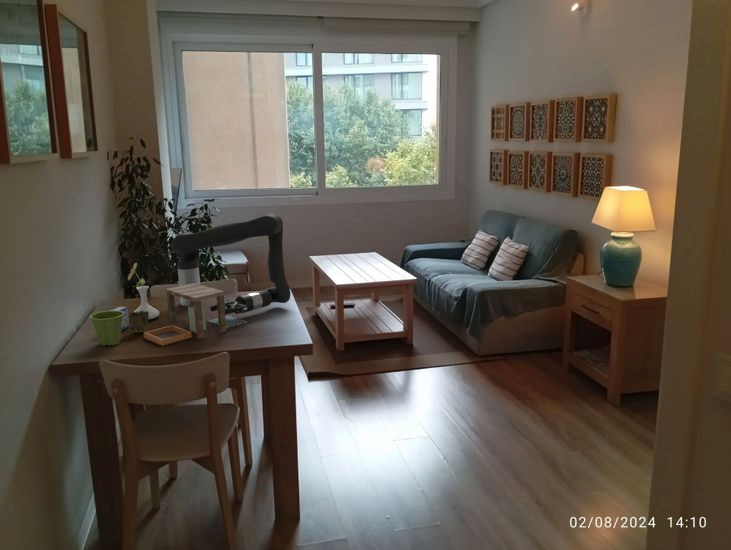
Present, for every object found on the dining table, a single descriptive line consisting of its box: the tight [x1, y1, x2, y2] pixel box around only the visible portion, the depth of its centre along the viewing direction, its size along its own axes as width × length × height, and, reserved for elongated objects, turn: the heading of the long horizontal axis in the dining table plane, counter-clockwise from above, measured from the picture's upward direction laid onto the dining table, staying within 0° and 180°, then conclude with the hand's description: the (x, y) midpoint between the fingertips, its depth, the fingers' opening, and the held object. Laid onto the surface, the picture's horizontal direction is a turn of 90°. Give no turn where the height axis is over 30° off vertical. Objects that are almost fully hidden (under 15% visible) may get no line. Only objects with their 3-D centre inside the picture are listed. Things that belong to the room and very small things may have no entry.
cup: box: [128, 311, 149, 334], centre depth 237 cm, size 8×7×8 cm
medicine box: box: [109, 306, 130, 331], centre depth 241 cm, size 8×4×9 cm, turn 168°
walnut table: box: [164, 283, 227, 340], centre depth 237 cm, size 22×13×16 cm, turn 47°
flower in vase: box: [126, 262, 160, 321], centre depth 253 cm, size 13×11×25 cm
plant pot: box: [89, 310, 124, 346], centre depth 224 cm, size 12×12×11 cm
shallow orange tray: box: [143, 325, 193, 347], centre depth 229 cm, size 14×12×2 cm
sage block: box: [187, 304, 207, 333], centre depth 237 cm, size 4×4×10 cm
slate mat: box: [207, 315, 248, 329], centre depth 248 cm, size 14×10×1 cm
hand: (216, 310), depth 244 cm, fingers open, 8 cm apart
